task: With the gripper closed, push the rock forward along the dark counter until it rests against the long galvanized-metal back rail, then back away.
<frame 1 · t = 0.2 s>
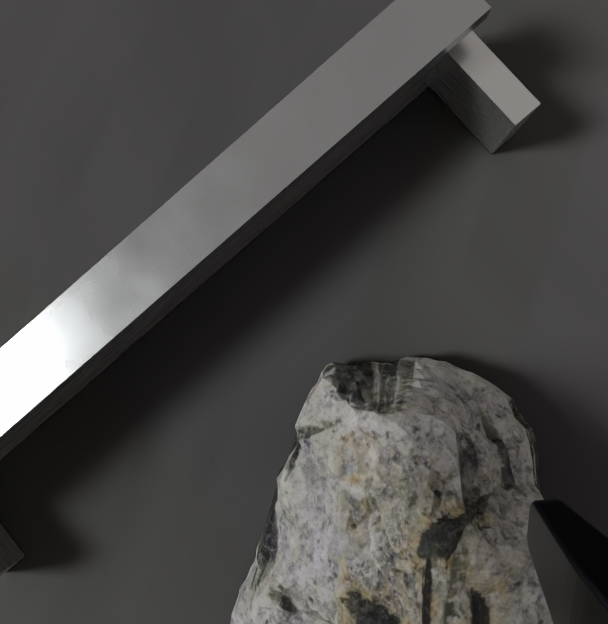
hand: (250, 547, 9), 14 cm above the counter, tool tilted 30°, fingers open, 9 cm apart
bracket: (259, 366, 23), on the counter
rock: (385, 525, 23), on the counter
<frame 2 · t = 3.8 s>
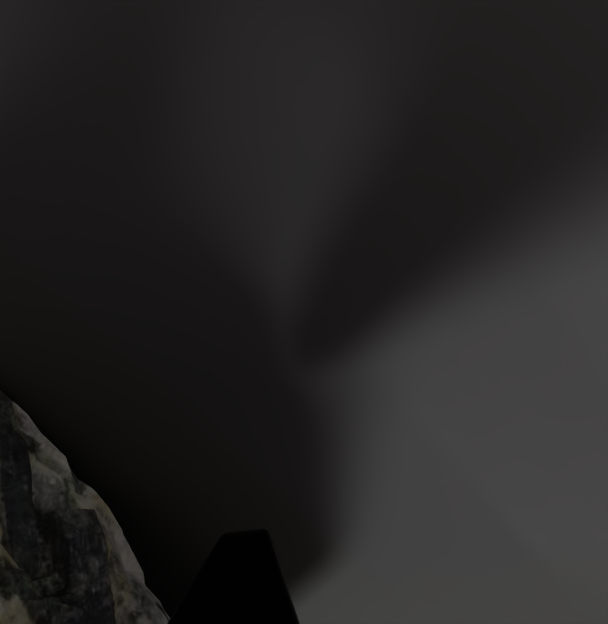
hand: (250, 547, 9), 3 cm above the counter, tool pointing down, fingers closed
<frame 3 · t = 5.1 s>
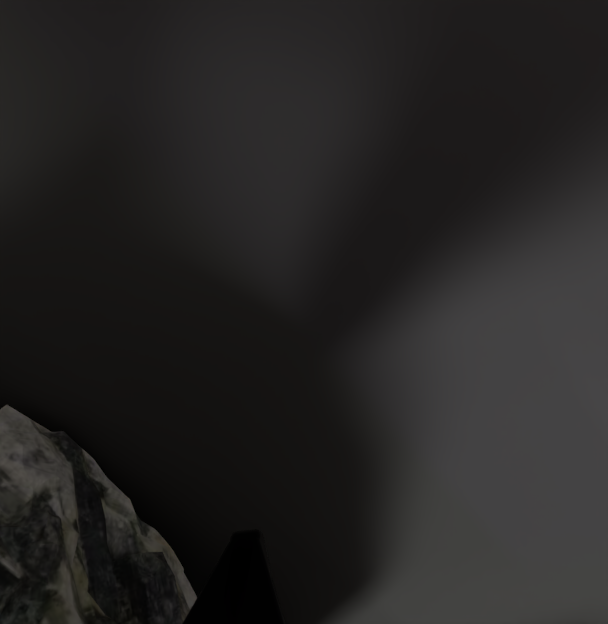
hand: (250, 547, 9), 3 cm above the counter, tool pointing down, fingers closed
rock: (27, 588, 13), on the counter, touching bracket, gripper
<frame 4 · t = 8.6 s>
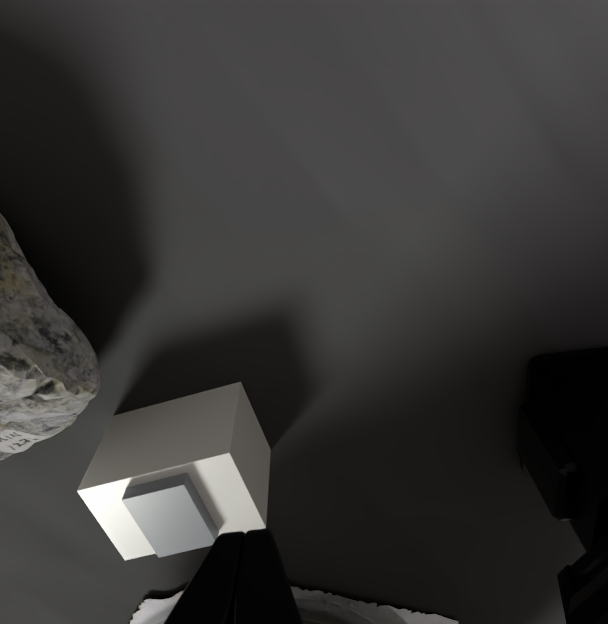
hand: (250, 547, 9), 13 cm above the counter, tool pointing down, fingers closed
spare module: (194, 431, 24), on the counter
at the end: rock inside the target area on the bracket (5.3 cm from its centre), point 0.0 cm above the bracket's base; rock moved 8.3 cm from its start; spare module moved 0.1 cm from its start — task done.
